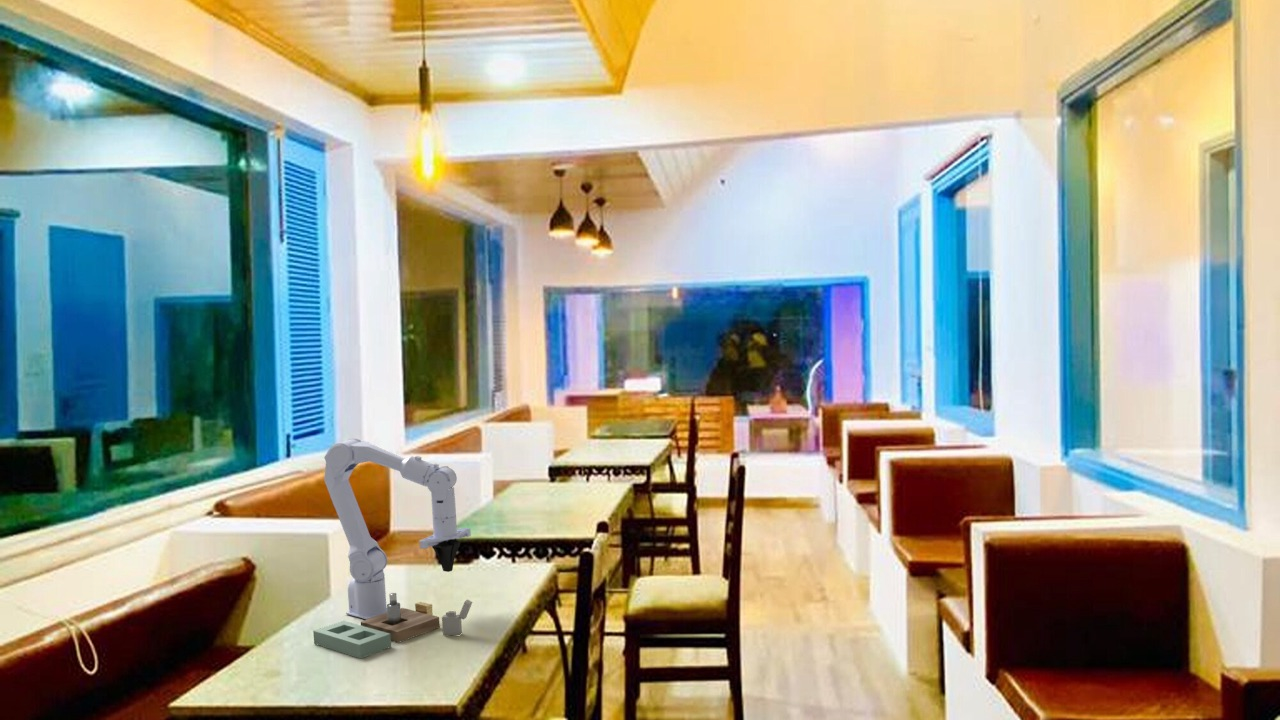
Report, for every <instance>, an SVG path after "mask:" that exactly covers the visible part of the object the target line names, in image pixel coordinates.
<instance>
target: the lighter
mask: <svg viewBox="0 0 1280 720" xmlns="http://www.w3.org/2000/svg"><path fill="white" fill-rule="evenodd" d="M472 604H473V601H471V600H469V599H466V600H464V603H463V605H462V607H461V611H460V613H459V614H457V612H456V611H455V610H454V611H452V610H450V611H446V612H445V614H444V615H442V617H441V622H442V623H441V624H442V625H441V626H442V636H443V635H460V634H461V633H462V634H463V626H462V625H463V624H462V620H463V621H464V620H465V619H467V616H468V614H469V612H470V609H471V607H472ZM462 634H461V635H462ZM461 635H460V636H461Z"/></svg>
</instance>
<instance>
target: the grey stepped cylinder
mask: <svg viewBox="0 0 1280 720" xmlns="http://www.w3.org/2000/svg"><path fill="white" fill-rule="evenodd" d="M388 596H389V603H388V604H386V606H387V614H388V625H392V626H393V625H396V624H399V623H401V610H400V608H401V603H400V602H398V599H397V598H398V597H397V593H396V592H391V593H389V594H388Z"/></svg>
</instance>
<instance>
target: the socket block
mask: <svg viewBox="0 0 1280 720" xmlns="http://www.w3.org/2000/svg"><path fill="white" fill-rule="evenodd" d="M400 610H401V623H399V624H396V625H393V626H392V625H388V614H387V613H385V614H382V615H379V616H376V617H374V618H371V619H368V620H366V619H364V620H362V621H360V625H361V626H364V627H368V628H372V629H375V630H379V631H382V632H386V633H389V634H390V636H391V642H393V641H395V642H394V643H397V642H399V643H401V642H403V640H404V641H406V639H407V640H409V639H411V637H412V638H414V637H413V636H415V637H417V636H416V635H418V636H420V635H423V634H425V632H426V633H428V632H431V631H434V630H436V629H435V628H437V629H439V628H441V625H440V624H441V623H440V616H437V615H430V614H426V613H421V612H417V611H416V610H413V609H409V608H405V607H400ZM438 627H439V628H438ZM433 629H434V630H433ZM408 638H409V639H408ZM400 641H401V642H400Z"/></svg>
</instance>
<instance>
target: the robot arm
mask: <svg viewBox="0 0 1280 720" xmlns="http://www.w3.org/2000/svg"><path fill="white" fill-rule="evenodd" d="M323 458H324V461H325V470H324V477H323V478H324V483H325V485H326V486H325V487H326V488H327V492H328V493H329V496H330V499H331V502H332V505H333V507H334V509H335V511H336V515H337V517H338V519H339V522H340V525H341V527H342V530H343V531H344V535H345V537H346V540H347V542H348V545H349V549H348V554H347V557H348V561H349V573H350V575H351V577H352V579H351V580H350V581H349V583H348V586H347V596H348V597H347V598H348V599H347V600H348V611H346V613H345V614H346V615H349V616H351V617H352V616H353V617H356V618H359V619H363V620H368V619H371V618H374V617H376V616H379V615H382V614H385V613H387V592H386V579H385V572H384V569H385V568H386V567H387V565H388V556H387V554H386V553H385V550H383V549H381V547H380V545H379V542H377V541H376V540H375V539H374V538H373V537H371V535H370V532H369V529H368V526H367V524H366V522H365V518H364V515H363V514H362V511H361V509H360V506H359V504H358V501H357V499H356V496H355V493H354V490H353V488H352V485H351V483H350V477H351V475H352V473H353V471H354V470H355V468H356V467H357V466H358V465H359V464H361V463H362V464H363V463H368V462H369V463H370V462H371V463H373V464H377V465H380V466H383V467H386V468H389V469H392V470H394V471H398V472H400V475H401V477H402V479H405V480H407V481H410V482H413V483H415V484H418V485H421V486H424V487H427V489H428V491H430V495H431V511H432V527H433V529H432V531H433V534H432V535H430V536H427V537H425V538H422V539H419V548H420V549H428V548H430V547H432V549H433V550H434V552H435V554H436V555H437V557H438V560H439V563H440V565H441V569H442V572H446V573H447V572H448V573H449V572H452V571H453V567H454V562H455V558H456V555H457V552H458V550H459V548H460V546H461V541H460V540H458V539H462V538H466V537H467V538H468V537H471V536H472V535H471V532H472V531H471V528H468V527H464V528H457V511H456V510H457V509H456V496H455V495H456V494H455V485H456V483H457V473H456V471H455V470H453V469H452V468H450V467H449V466H448V465H447V466H446V465H444V466H441V467H440V464H438V463H436V462H435V463H434V464H433V463H430V462H428V461H425V460H422V456H420V455H416V456H412V455H411V456H409V457H407V458H404V457H402V456H400V455H397V454H394V453H392V452H390V451H387V450H386V449H383V448H381V447H379V446H376V445H375V444H372V443H370V442H369V441H365V440H360V439H358V438H355V437H354V438H353V437H352V438H349V439H346V440H345V441H341V442H336V443H334V444H332V445H331V446H330V447H329V449H328V450H327V452H326V454H325V455H324V457H323Z"/></svg>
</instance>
